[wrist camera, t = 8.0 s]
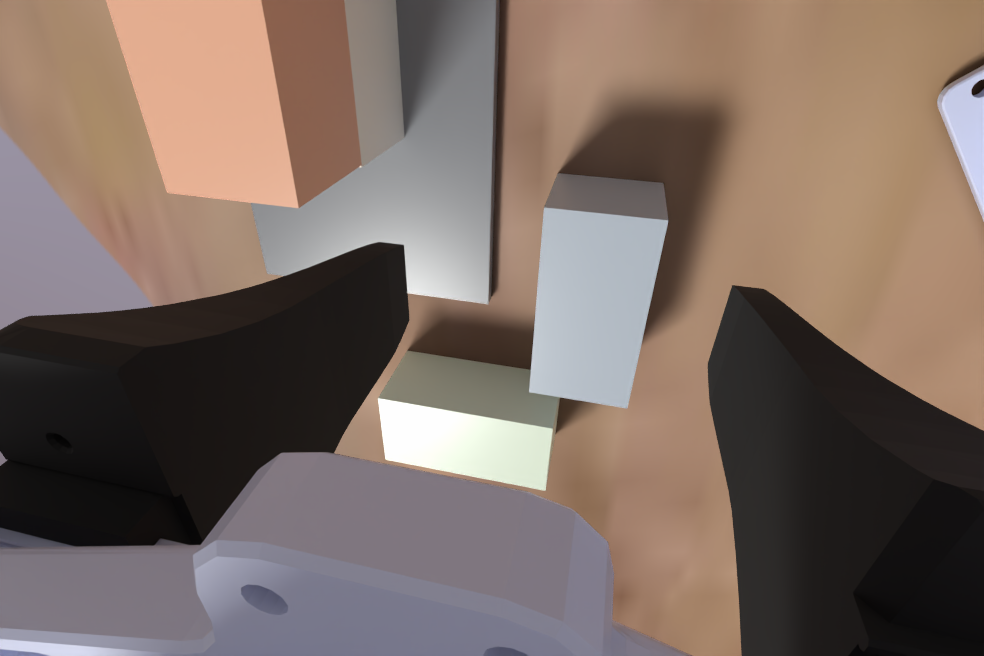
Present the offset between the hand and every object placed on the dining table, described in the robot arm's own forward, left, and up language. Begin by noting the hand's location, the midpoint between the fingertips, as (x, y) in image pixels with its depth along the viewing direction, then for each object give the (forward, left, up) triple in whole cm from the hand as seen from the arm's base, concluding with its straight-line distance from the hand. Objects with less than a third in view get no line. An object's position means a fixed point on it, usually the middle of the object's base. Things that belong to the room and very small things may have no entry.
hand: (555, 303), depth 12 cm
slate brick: (+2, +4, -11) cm, 11 cm away
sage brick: (+11, +7, -11) cm, 17 cm away
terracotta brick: (+4, -10, -6) cm, 12 cm away
